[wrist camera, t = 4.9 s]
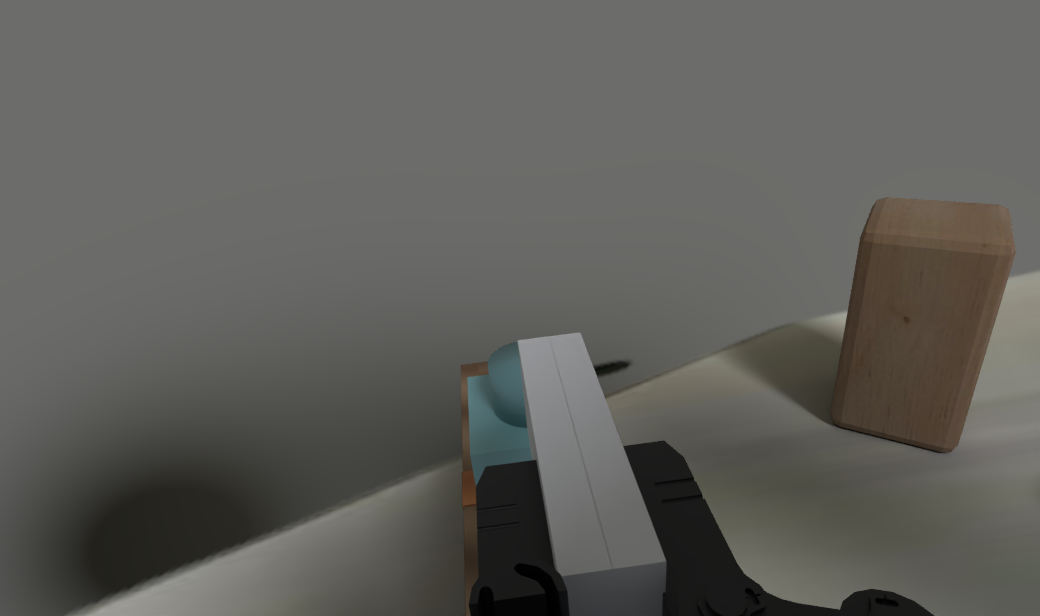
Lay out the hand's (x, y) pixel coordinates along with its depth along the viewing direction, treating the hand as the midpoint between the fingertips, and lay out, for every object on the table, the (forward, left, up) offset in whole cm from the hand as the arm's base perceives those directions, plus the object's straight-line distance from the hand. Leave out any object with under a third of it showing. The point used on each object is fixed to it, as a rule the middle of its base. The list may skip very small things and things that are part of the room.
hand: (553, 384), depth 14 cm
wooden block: (+31, -36, -30) cm, 56 cm away
